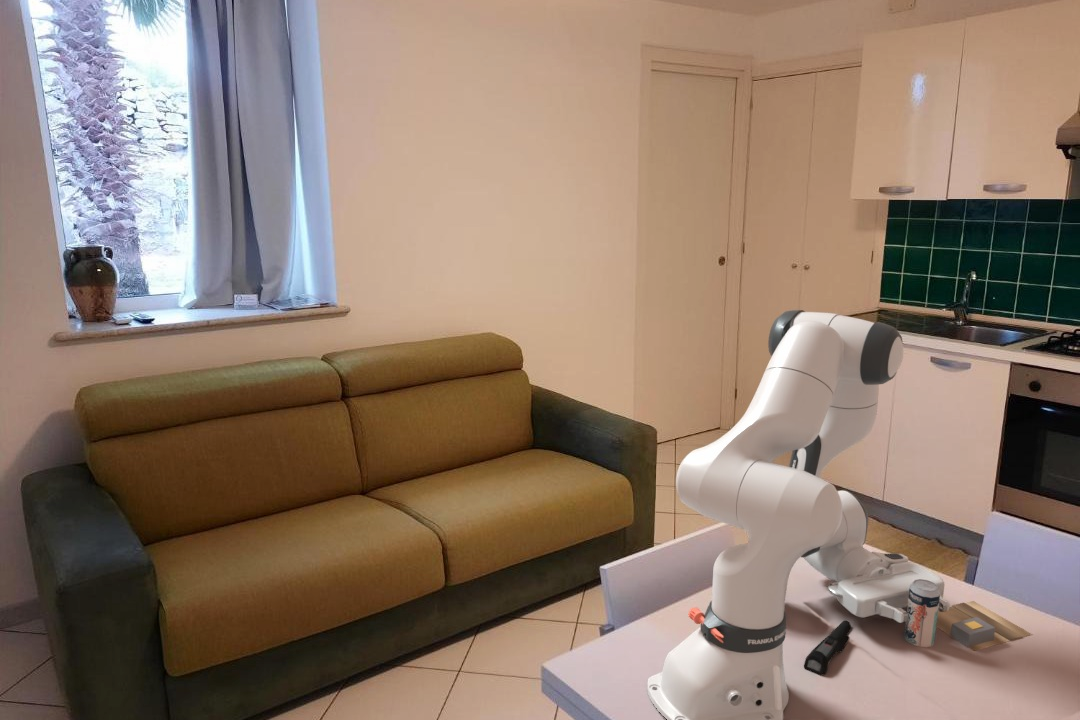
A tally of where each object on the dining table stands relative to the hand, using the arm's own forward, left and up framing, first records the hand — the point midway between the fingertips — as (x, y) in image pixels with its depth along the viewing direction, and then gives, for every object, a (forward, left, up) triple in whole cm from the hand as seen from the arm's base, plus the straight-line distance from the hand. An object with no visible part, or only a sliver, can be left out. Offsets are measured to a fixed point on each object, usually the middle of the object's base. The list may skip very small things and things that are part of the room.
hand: (925, 613), depth 131 cm
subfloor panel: (+13, +1, -7) cm, 15 cm away
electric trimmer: (-16, +5, -8) cm, 18 cm away
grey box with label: (+9, -2, -6) cm, 11 cm away
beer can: (0, +1, -7) cm, 7 cm away
